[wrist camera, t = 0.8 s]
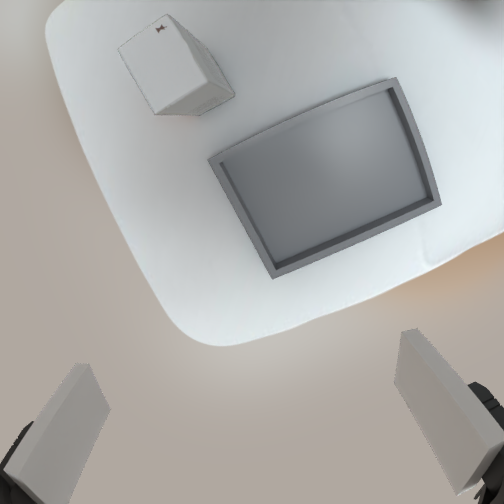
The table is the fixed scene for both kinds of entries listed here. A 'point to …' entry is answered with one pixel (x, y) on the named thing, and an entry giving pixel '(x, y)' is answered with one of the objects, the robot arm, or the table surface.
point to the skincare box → (174, 70)
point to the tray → (329, 177)
